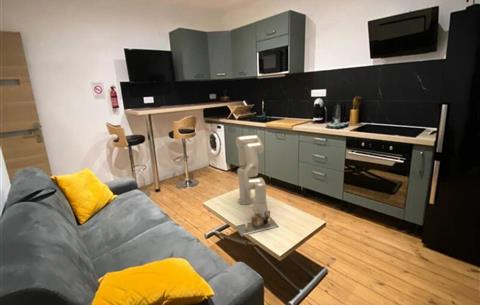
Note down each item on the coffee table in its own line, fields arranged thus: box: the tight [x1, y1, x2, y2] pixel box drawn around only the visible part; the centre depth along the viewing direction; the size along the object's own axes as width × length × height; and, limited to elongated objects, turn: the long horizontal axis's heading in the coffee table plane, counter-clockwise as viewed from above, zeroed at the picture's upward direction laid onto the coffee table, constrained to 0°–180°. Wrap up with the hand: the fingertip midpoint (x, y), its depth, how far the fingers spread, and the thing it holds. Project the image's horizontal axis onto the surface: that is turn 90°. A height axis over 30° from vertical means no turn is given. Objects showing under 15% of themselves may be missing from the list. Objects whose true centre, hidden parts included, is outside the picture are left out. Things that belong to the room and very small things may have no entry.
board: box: [235, 217, 280, 237], centre depth 167 cm, size 13×28×6 cm, turn 109°
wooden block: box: [251, 210, 271, 229], centre depth 169 cm, size 4×14×8 cm, turn 129°
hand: (261, 221), depth 170 cm, fingers open, 8 cm apart
